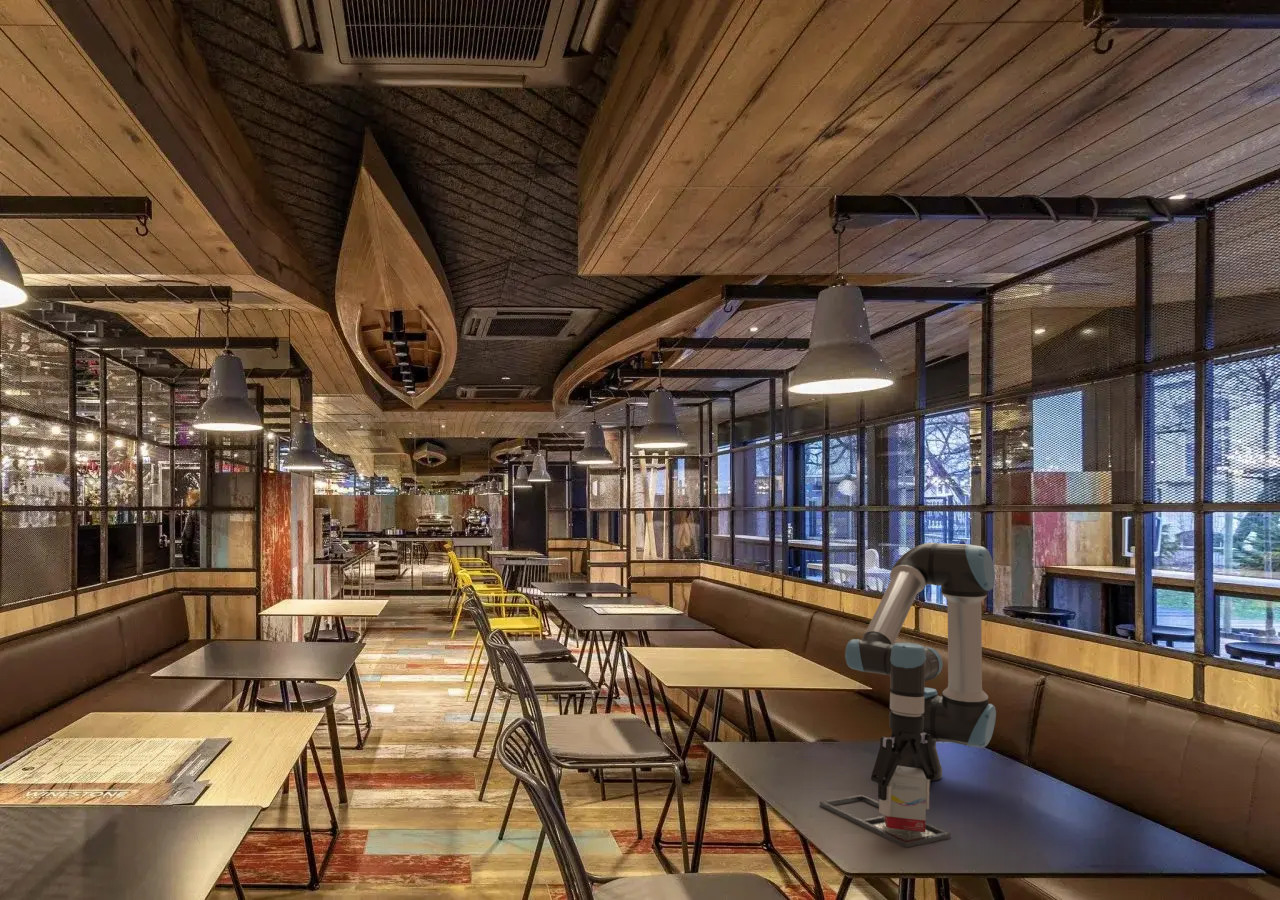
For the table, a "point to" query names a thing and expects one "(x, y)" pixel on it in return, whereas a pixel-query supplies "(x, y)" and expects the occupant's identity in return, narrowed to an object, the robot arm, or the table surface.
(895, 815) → the ink box
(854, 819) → the grey flat rectangular frame
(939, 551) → the robot arm
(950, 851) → the table surface
